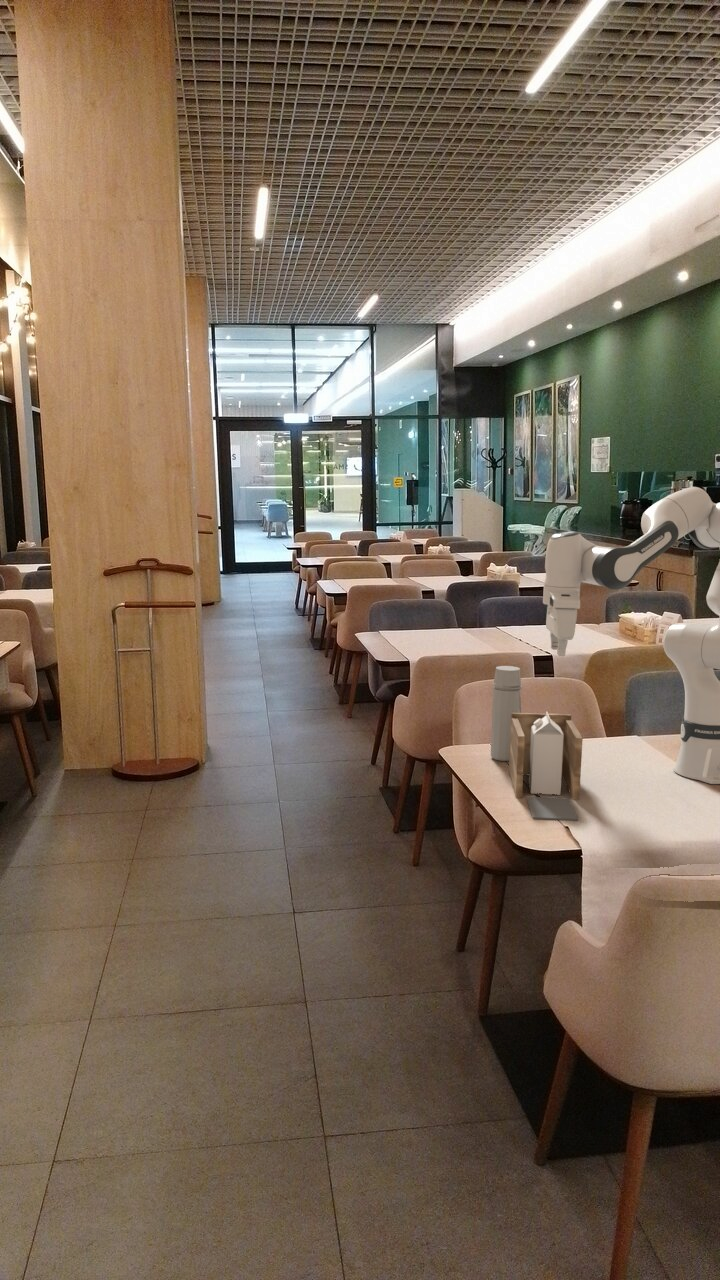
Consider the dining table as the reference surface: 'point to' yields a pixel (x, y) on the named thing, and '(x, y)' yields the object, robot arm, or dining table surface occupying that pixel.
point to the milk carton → (546, 757)
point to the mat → (551, 808)
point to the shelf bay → (522, 743)
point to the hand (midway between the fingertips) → (557, 652)
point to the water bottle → (504, 709)
